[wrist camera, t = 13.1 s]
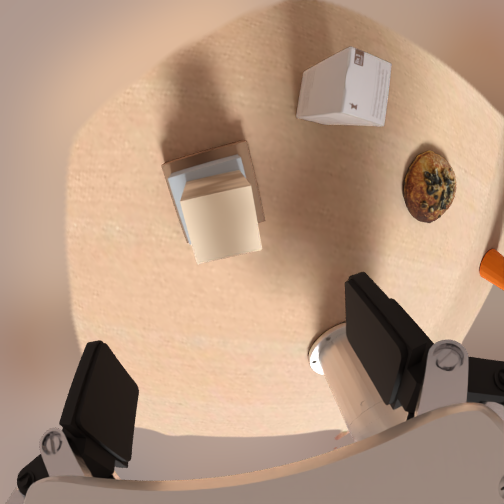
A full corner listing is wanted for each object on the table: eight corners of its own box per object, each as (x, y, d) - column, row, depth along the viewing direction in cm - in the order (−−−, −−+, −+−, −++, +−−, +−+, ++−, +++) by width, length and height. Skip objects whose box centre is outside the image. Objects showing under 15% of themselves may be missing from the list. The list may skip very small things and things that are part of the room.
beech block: (239, 169, 25) (251, 185, 19) (248, 219, 27) (262, 249, 21) (186, 181, 25) (179, 201, 19) (198, 230, 27) (197, 264, 21)
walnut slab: (243, 139, 30) (246, 141, 27) (260, 212, 34) (265, 220, 31) (165, 162, 29) (161, 165, 27) (188, 233, 33) (187, 242, 31)
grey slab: (237, 154, 27) (241, 157, 25) (252, 216, 31) (257, 225, 28) (171, 173, 27) (167, 178, 24) (191, 233, 30) (189, 244, 28)
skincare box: (328, 125, 30) (388, 131, 19) (292, 117, 29) (340, 116, 18) (335, 78, 27) (397, 64, 16) (300, 68, 26) (350, 44, 15)
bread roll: (401, 228, 37) (422, 236, 33) (393, 153, 34) (416, 154, 29) (447, 213, 38) (468, 219, 33) (441, 147, 35) (463, 148, 30)
